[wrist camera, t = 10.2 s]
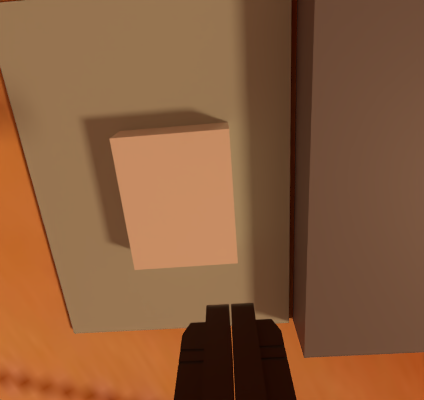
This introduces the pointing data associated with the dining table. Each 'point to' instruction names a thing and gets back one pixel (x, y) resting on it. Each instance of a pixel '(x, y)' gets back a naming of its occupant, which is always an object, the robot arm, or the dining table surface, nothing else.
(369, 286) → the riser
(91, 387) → the dining table surface
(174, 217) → the tile
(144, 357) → the dining table surface
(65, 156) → the mat
